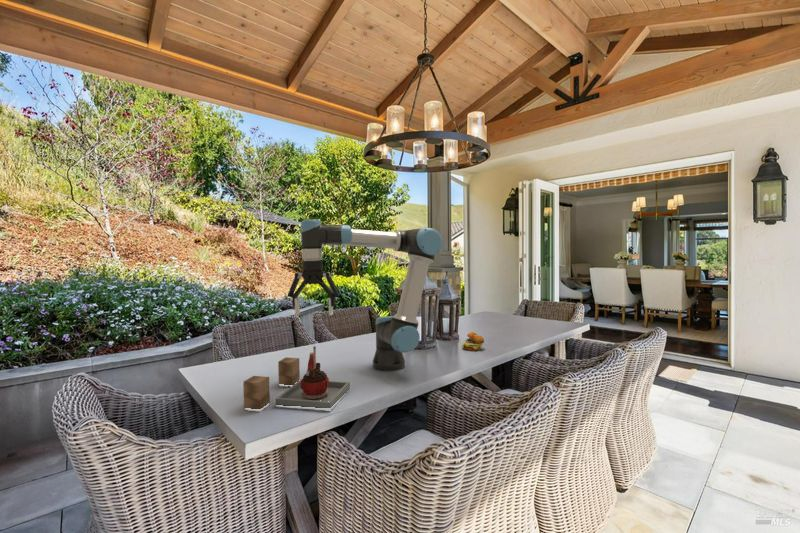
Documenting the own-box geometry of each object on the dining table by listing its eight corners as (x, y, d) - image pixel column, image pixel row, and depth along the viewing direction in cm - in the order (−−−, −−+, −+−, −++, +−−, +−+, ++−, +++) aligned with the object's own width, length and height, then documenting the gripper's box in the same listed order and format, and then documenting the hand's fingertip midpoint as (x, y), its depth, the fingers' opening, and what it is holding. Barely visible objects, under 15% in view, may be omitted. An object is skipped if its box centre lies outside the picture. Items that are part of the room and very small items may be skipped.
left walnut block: (269, 405, 133) (269, 376, 133) (260, 412, 127) (259, 382, 127) (254, 403, 134) (253, 375, 134) (244, 410, 128) (243, 381, 128)
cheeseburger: (461, 346, 211) (465, 328, 210) (480, 351, 210) (484, 333, 209) (461, 350, 201) (466, 332, 200) (481, 356, 200) (486, 337, 199)
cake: (324, 401, 133) (323, 350, 132) (298, 401, 134) (297, 350, 133) (331, 390, 144) (330, 342, 143) (306, 389, 144) (306, 342, 144)
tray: (349, 389, 147) (349, 382, 147) (330, 411, 127) (330, 403, 127) (301, 386, 151) (301, 379, 151) (275, 407, 131) (275, 398, 131)
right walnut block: (299, 382, 156) (299, 358, 155) (292, 387, 150) (292, 362, 149) (286, 381, 157) (285, 357, 156) (278, 386, 151) (278, 361, 151)
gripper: (346, 259, 148) (348, 313, 149) (286, 260, 152) (288, 312, 153) (340, 259, 141) (342, 316, 142) (277, 261, 145) (279, 316, 146)
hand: (314, 314), depth 148 cm, fingers open, 13 cm apart
